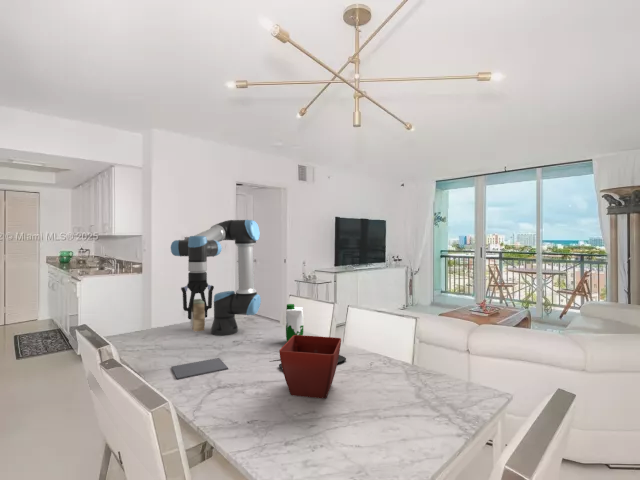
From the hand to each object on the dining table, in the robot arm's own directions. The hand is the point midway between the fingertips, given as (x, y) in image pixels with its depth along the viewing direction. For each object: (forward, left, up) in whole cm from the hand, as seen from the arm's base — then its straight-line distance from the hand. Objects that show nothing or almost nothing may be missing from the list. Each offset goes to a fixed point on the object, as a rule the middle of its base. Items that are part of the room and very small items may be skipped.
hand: (197, 325), depth 150 cm
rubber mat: (0, +5, -17) cm, 18 cm away
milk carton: (-50, -5, -17) cm, 53 cm away
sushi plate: (-42, +18, -18) cm, 49 cm away
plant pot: (-30, +47, -17) cm, 58 cm away
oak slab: (0, 0, -1) cm, 1 cm away
